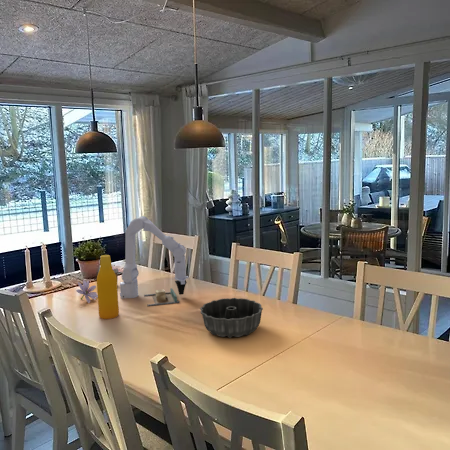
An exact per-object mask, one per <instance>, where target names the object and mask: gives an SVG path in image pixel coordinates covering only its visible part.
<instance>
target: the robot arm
mask: <svg viewBox="0 0 450 450" xmlns="http://www.w3.org/2000/svg"><path fill="white" fill-rule="evenodd" d="M141 230H142V231H143V232H150V233H151V234H153V235H154V237H155V236H156V237H157V238H158V239H159V240H160V241H161V243H162V245H163V246H164V248H166V249H167V250H169V252H171V253H172V255H173V257H174V258H173V259H174V282H175V285H176V287H177V291H178V295H180V296H182V295H184V293H185V289H186V286H187V283H188V282H187V279H189V276H188V275H187V269H186V268H187V267H186V263H187V262H186V252H187V248H186V247H185V245H184V244H183V245H182V244H181V243H179V242H178V241H176V240H175V238H174V237H173V236H170V235H166V234H165V233H164V232H163V231H162V230H161V229H160V228H159V227H157V226H156V224H155V223H153V221H152V220H151V219H148V217H147V216H144V215H141V216H139V217H137V218H134V219H132V220H131V221H130V222H129V225H128V226H127V227H126V229H125V232H124V233H125V235H124V236H125V239H124V240H125V252H124V253H125V258H124V259H125V263H124V266H123V269H122V271H123V272H122V274H121V279H122V281H120V282H119V289H120V290H119V296H120V299H121V300H123V299H133V298H137V297H139V287H138V285H139V284H138V276H139V273H140V272H139V270H138V265H137V263H136V261H137V260H136V252H137V251H136V249H137V245H136V244H137V243H136V241H137V239H136V238H137V234H138V233H139V232H140V231H141Z"/></svg>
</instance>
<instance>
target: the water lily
mask: <svg viewBox="0 0 450 450" xmlns="http://www.w3.org/2000/svg"><path fill="white" fill-rule="evenodd" d="M77 285H78V287H79V288H80V289H75V290H76V293H78V294H80V295H82V296H81V297H80V300H82V299H83V298H85V300H86V302H87V303H88V304H90V303H91V299H93V300H97V299H98V293H97V291H94V290H95V289H96V288H97V285H95V284H94V285H91V286H90V281H89V280H87V281H86V280H85V279H83V280H82V283H80V282H77Z"/></svg>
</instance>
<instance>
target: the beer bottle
mask: <svg viewBox="0 0 450 450" xmlns="http://www.w3.org/2000/svg"><path fill="white" fill-rule="evenodd" d="M99 269H100V270H99ZM99 269H98V273H97V276H96V288H97V291H96V293H97V295H98V298H97V304H98V305H97V306H98V307H97V308H98V317H99V318H100V319H102V320H103V319H104V320H110V319H111V320H112V319H115V318H117V317H118V316H119V314H120V308H119V307H120V306H119V296H118V295H119V293H118V279H117V277H116V274H115V272H114V271H113V270H114V268H113V266H112V260H111V255H109V254H103V255H100V262H99Z"/></svg>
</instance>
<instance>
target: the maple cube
mask: <svg viewBox="0 0 450 450" xmlns="http://www.w3.org/2000/svg"><path fill="white" fill-rule="evenodd" d="M165 293H166V290H165V289H164V288H163V289H155V294H156V300H157V301H162V300H166V296H165Z"/></svg>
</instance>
